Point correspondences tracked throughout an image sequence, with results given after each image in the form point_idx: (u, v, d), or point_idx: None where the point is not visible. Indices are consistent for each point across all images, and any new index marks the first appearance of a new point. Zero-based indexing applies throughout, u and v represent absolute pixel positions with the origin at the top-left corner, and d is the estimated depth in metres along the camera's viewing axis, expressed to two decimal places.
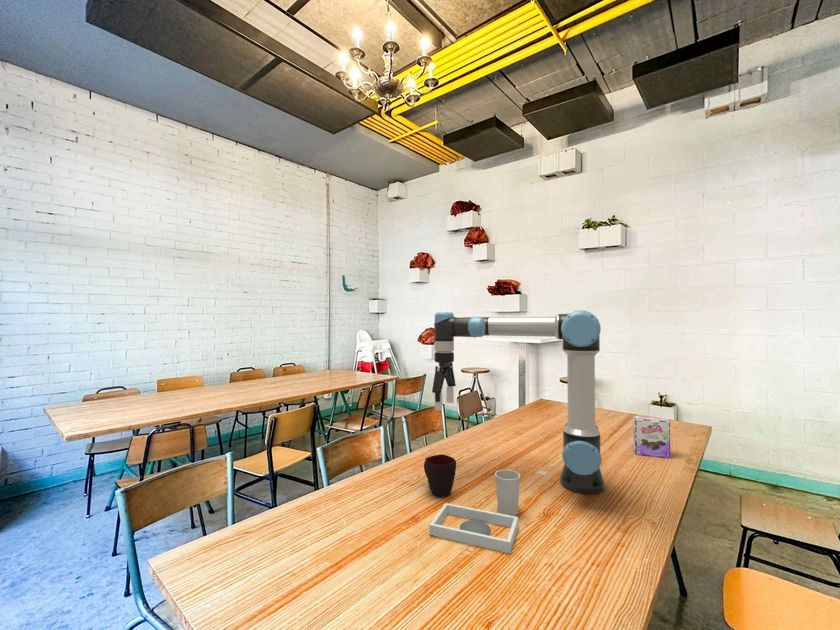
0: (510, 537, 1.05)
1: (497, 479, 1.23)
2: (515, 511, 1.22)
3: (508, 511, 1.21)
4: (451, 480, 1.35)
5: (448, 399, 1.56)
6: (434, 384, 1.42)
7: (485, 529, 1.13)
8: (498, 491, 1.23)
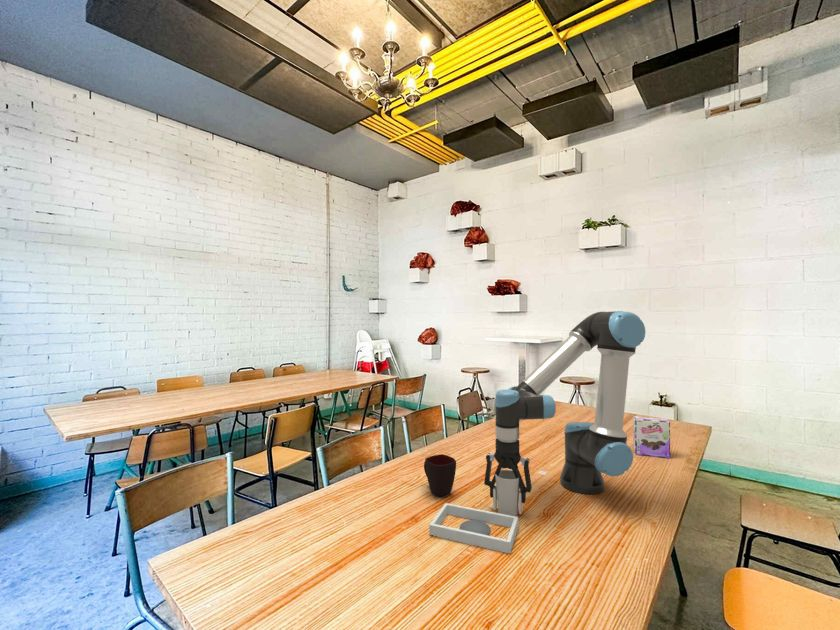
0: (510, 537, 1.05)
1: (497, 479, 1.23)
2: (515, 511, 1.22)
3: (508, 511, 1.21)
4: (451, 480, 1.35)
5: None
6: None
7: (485, 529, 1.13)
8: (498, 491, 1.23)
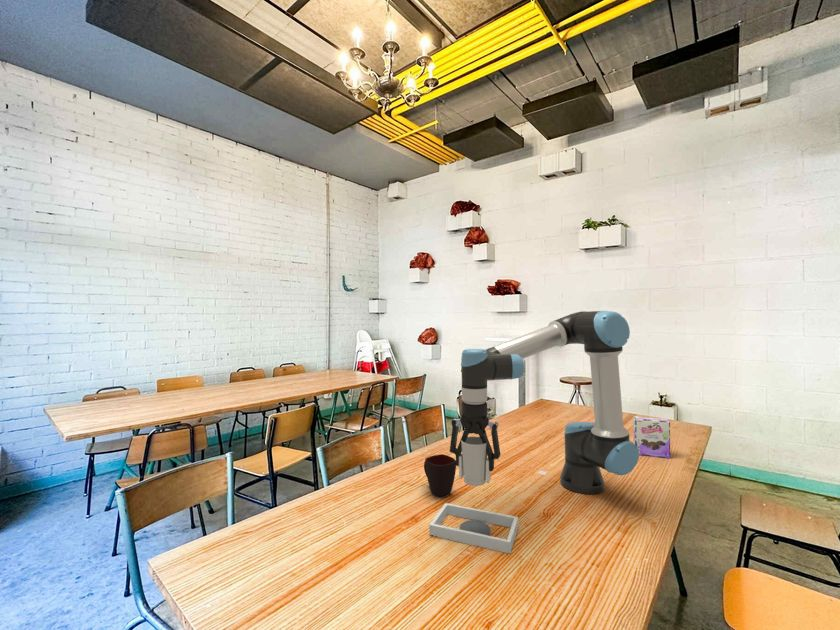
0: (510, 537, 1.05)
1: (463, 445, 1.12)
2: (482, 480, 1.11)
3: (474, 480, 1.11)
4: (451, 480, 1.35)
5: None
6: None
7: (485, 529, 1.13)
8: (464, 458, 1.13)
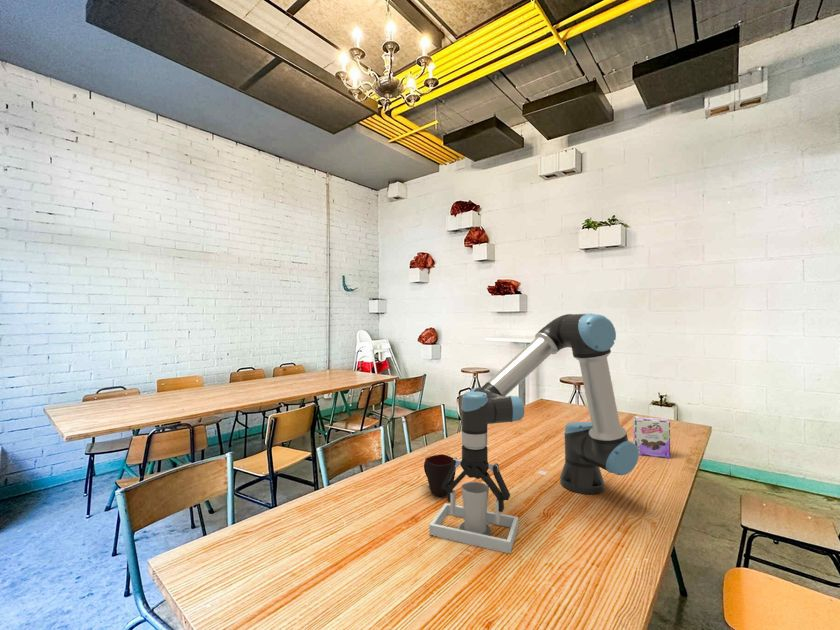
0: (510, 537, 1.05)
1: (463, 492, 1.12)
2: (482, 528, 1.11)
3: (475, 528, 1.11)
4: (451, 480, 1.35)
5: None
6: None
7: None
8: (464, 506, 1.12)
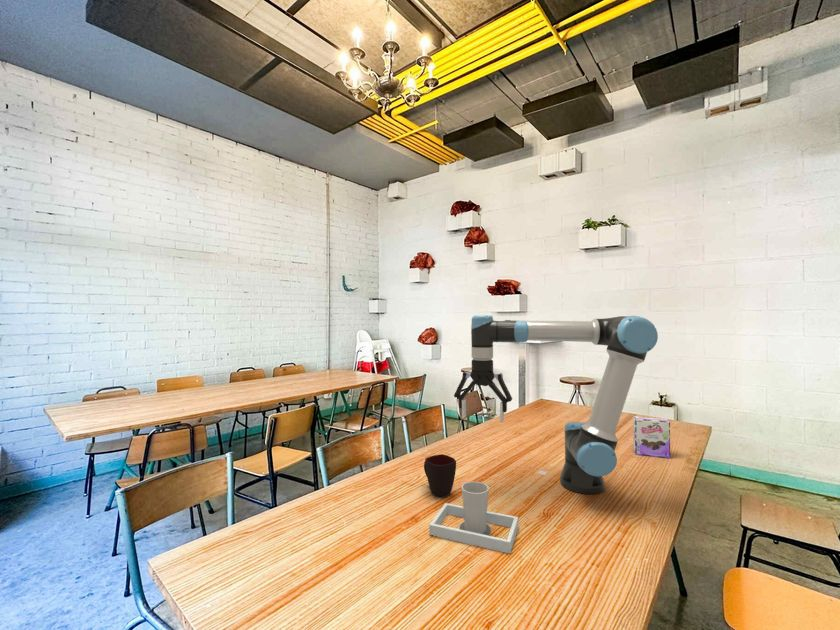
0: (510, 537, 1.05)
1: (463, 493, 1.12)
2: (482, 528, 1.11)
3: (475, 528, 1.11)
4: (451, 480, 1.35)
5: None
6: None
7: None
8: (464, 506, 1.12)
